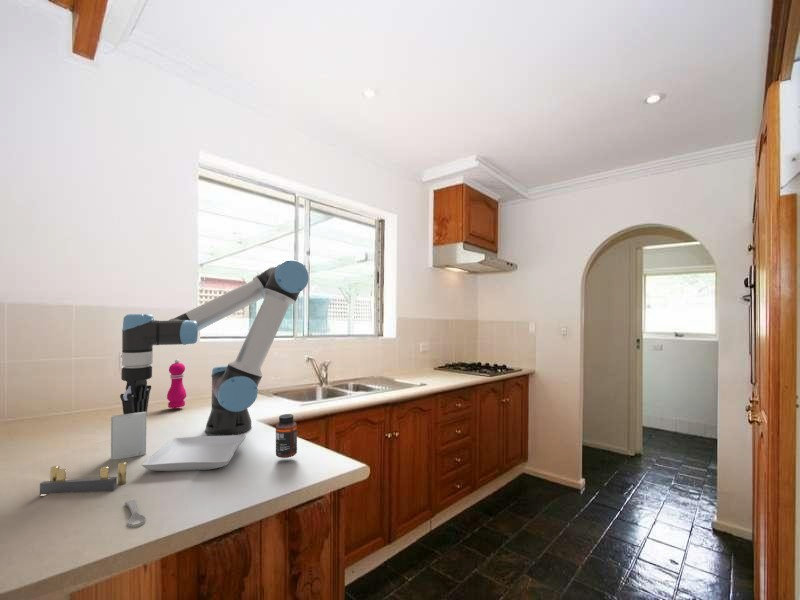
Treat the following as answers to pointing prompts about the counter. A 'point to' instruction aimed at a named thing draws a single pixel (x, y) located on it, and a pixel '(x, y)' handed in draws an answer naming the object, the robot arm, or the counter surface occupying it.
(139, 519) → the spoon
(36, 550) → the counter surface
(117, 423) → the external hard drive
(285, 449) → the supplement bottle
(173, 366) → the pepper mill
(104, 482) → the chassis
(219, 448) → the salad plate
